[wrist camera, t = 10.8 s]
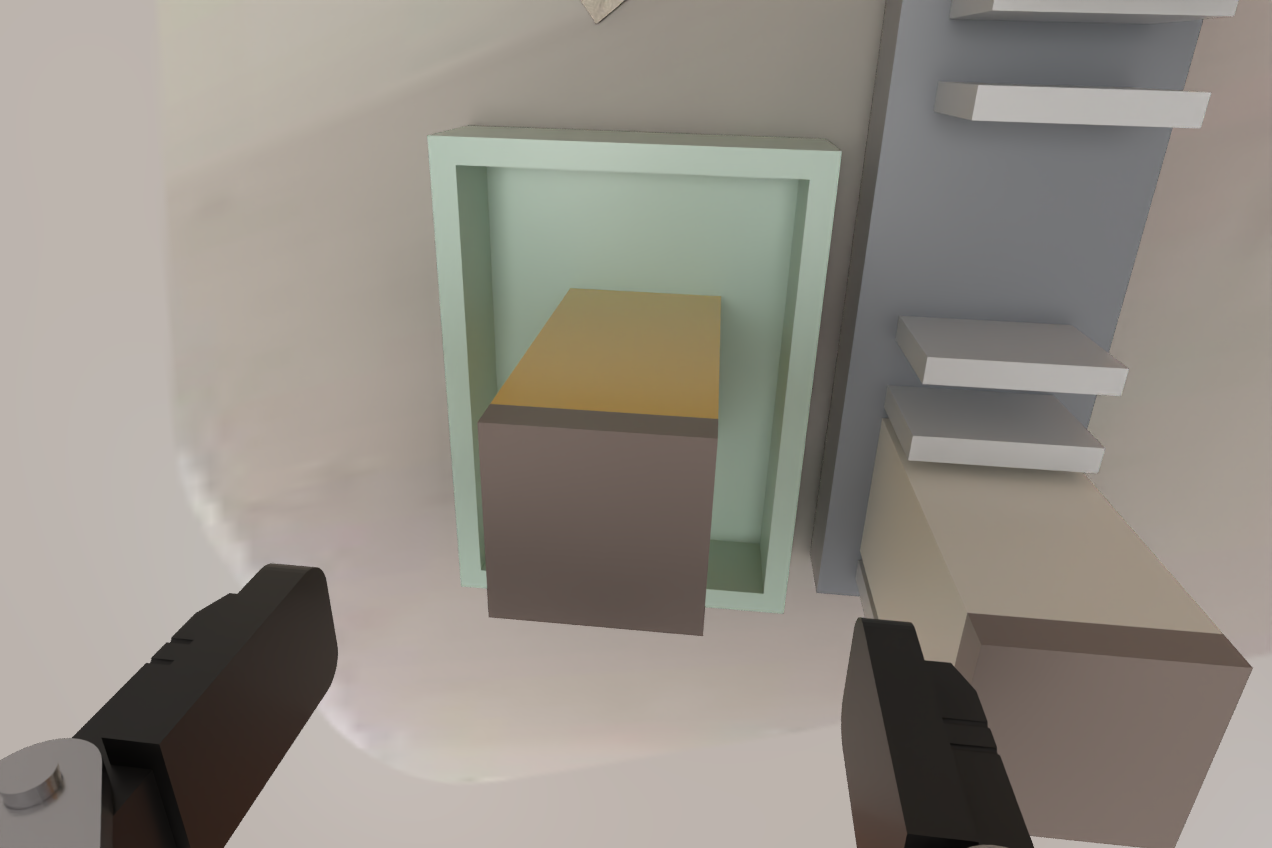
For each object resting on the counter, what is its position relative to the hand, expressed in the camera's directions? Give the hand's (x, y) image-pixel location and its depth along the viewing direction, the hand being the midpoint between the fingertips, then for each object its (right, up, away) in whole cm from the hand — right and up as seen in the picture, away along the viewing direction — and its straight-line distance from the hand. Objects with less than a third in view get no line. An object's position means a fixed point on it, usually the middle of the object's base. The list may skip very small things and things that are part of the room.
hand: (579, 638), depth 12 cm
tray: (+1, +5, +11) cm, 12 cm away
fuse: (+1, +5, +10) cm, 11 cm away
